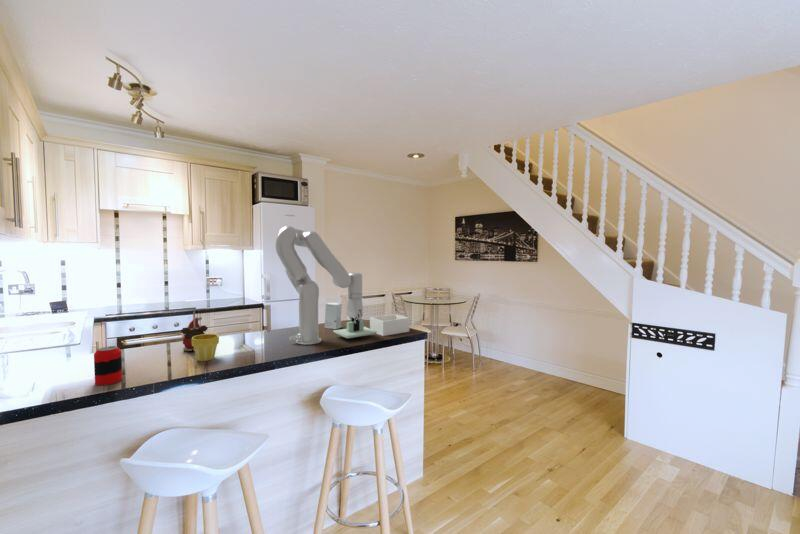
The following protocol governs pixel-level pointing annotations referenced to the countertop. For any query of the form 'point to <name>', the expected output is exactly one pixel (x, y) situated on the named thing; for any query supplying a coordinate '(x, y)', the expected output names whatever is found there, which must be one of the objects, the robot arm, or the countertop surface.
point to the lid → (351, 333)
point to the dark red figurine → (192, 332)
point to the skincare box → (333, 315)
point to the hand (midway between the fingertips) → (355, 329)
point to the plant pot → (205, 346)
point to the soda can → (108, 365)
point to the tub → (389, 324)
